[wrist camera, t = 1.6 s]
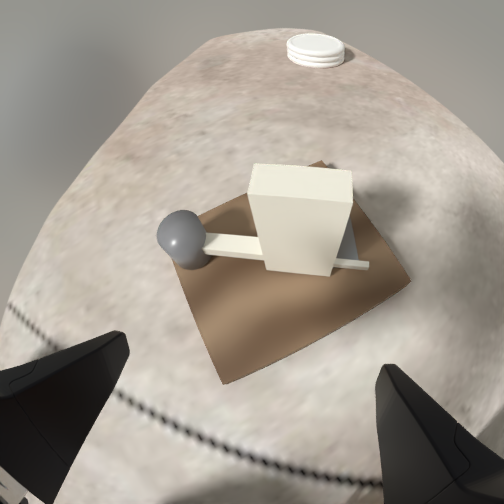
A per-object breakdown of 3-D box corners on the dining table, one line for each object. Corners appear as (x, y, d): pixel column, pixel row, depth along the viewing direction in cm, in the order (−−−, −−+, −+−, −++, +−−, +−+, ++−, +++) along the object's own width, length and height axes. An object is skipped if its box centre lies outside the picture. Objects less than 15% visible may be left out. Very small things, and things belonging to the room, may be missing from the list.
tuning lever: (169, 267, 24) (105, 202, 15) (180, 230, 25) (128, 156, 16) (366, 289, 20) (413, 225, 11) (366, 247, 22) (404, 167, 13)
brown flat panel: (405, 286, 22) (412, 280, 20) (227, 384, 21) (222, 384, 19) (320, 170, 28) (321, 159, 26) (169, 240, 27) (162, 232, 25)
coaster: (276, 55, 41) (274, 39, 38) (317, 44, 42) (317, 29, 39) (313, 74, 37) (313, 56, 34) (355, 62, 38) (356, 46, 35)
